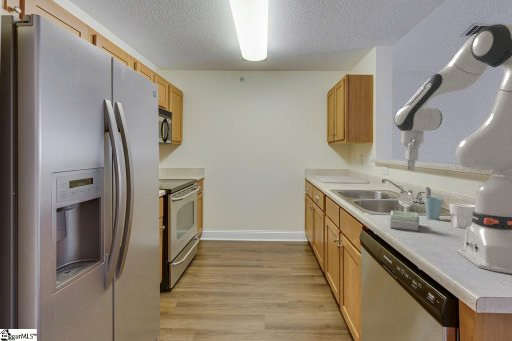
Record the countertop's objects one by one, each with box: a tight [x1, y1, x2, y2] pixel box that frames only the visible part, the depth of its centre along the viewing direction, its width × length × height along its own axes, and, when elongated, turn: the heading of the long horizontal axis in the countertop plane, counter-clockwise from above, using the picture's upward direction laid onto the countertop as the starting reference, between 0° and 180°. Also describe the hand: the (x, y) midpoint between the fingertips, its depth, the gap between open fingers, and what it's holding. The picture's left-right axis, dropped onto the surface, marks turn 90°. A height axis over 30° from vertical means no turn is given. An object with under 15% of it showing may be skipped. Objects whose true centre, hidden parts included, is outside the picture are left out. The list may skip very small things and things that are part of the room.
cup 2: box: [449, 202, 475, 229], centre depth 139 cm, size 10×10×10 cm
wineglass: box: [398, 191, 414, 216], centre depth 138 cm, size 6×6×12 cm
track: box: [389, 216, 420, 232], centre depth 141 cm, size 23×11×4 cm, turn 157°
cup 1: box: [424, 196, 444, 221], centre depth 155 cm, size 8×8×10 cm
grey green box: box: [390, 210, 420, 227], centre depth 138 cm, size 12×11×5 cm
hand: (410, 170), depth 136 cm, fingers open, 8 cm apart
